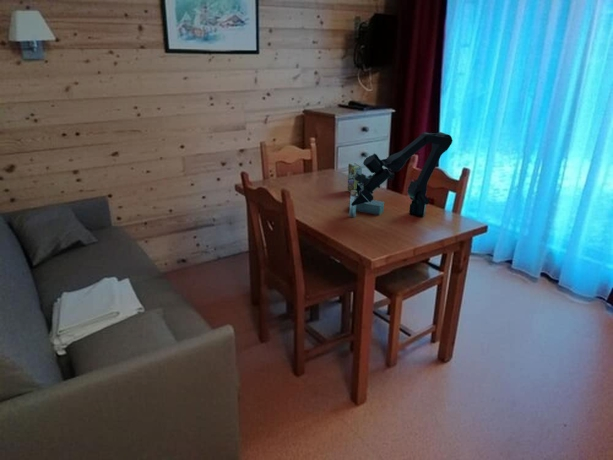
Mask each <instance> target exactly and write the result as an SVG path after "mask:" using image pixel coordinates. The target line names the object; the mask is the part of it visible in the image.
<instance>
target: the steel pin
mask: <svg viewBox="0 0 613 460" xmlns="http://www.w3.org/2000/svg"><path fill="white" fill-rule="evenodd" d="M357 193H358V191H356V190H351V193H350V196H351V197H350V196H349V199H350V200H349V203H350V210H348V211H349V214H348V216H349V217H351V218H356V217H357V211H356V206H357V205H354V206H352V205H351V204H352V202H353V201H354V200H355V199H356V198H357Z"/></svg>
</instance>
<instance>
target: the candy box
mask: <svg viewBox="0 0 613 460" xmlns="http://www.w3.org/2000/svg"><path fill="white" fill-rule="evenodd" d="M362 169H363V167H362V166H360V165H359V164H357V163H355V162H353V163H352V162H350V163H348V169H347V192H349V193H350V194H351V190H355V189H356V183H358V182H357V181H356V180H355V179H354V176H355V174H356V172H357V171H358V172H360V173H362ZM362 174H363V173H362Z"/></svg>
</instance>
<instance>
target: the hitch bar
mask: <svg viewBox="0 0 613 460" xmlns="http://www.w3.org/2000/svg"><path fill="white" fill-rule="evenodd" d="M348 204H349V205H348V206H349V207H348V211H350V202H349V203H348ZM384 208H385V201H382V200H381V201H380V200H376V199H375V200H374V199H373V200H372V201H371V202H365V203H361V204H358V205H357V206H356V212H359V213H365V214H369V215H370V214H371V215H376V216H380V215H381V214H382V213H383V212H384V210H385V209H384Z"/></svg>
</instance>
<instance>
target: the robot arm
mask: <svg viewBox="0 0 613 460" xmlns="http://www.w3.org/2000/svg"><path fill="white" fill-rule="evenodd" d="M428 144H431V151H430V153H429V155H428V157H427V159H426V161H425V162H424V164H423V167H422V169H421V171H420V173H419V175H418V178H417V179H415V180H414V181H413V180H411V181H410V182H409V186H408V187H407V195H408V196H409V198H410V200H411V202H410V204H409V212H408V213H409V214H408V215H410V216H414V217H420V218H423V217H424V216H425V215H426V214H425V213H426V207H427V205H429V203H430V199H429V198H428V197H427V192H428V183H429V182H430V181H429V180H430V178H431V177H432V175H433V173H434V171H435V169H436V166H437V165H438V163H439V161H440V158H441V157H442V155H444V153H445V152H447V151H448V150H449V148H450V147H451V145H452V144H453V136H451V135H450V134H447V133H445V132H441V131H440V132H437V133H432V132H430V133H429V132H422V133H421V134H420V135H419V136H418V137H417V138H415V139H414V140H413V141H411V142H410V143H409V144H408V145H407V146H405V147H404V148H403V149H402V150H400V151H398V152H395V153H393V154H391V155H389V156H387V157H386V158H384V159H381V158H379V156H378V154H377V153H375V152H374V153H373V154H372V155H369V156H368V157H365V158H364V160H363V163H362V164H363V165H364V167H365V168H366V169H367V170H368V171H369V172H370V173H371V174H369V175H368V176H367V175H366V174H364V173H360V172H358V171H357V172H356V174H355V176H354V179H355V180H356V181H357V182H358V183H356V189H355V190H356V191H358V193H357V198H356V199H355V200H354V201H353V202H352V204H351V205H352V206H354V205H358V204H361V203H365V202H371V201H372V200H374V191H375V190H377V189H380V188H381V185H382V184H384V183H385V182H386V181H387V180H388V179H389V178H390V180H391V181H394V180H395V179H394V178H395V173H397V172H399V171H400V170H402V168H403V167H404V166H405V165H406V163H407V161H408V160H410V158H411V157H413V156H414V155H415V154H416V153H418V152H419V151H420V150H421V149H422V148H423V147H425V146H427V145H428ZM391 171H392V172H391ZM394 172H395V173H394ZM350 197H351V195H350V196H349V198H350Z"/></svg>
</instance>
